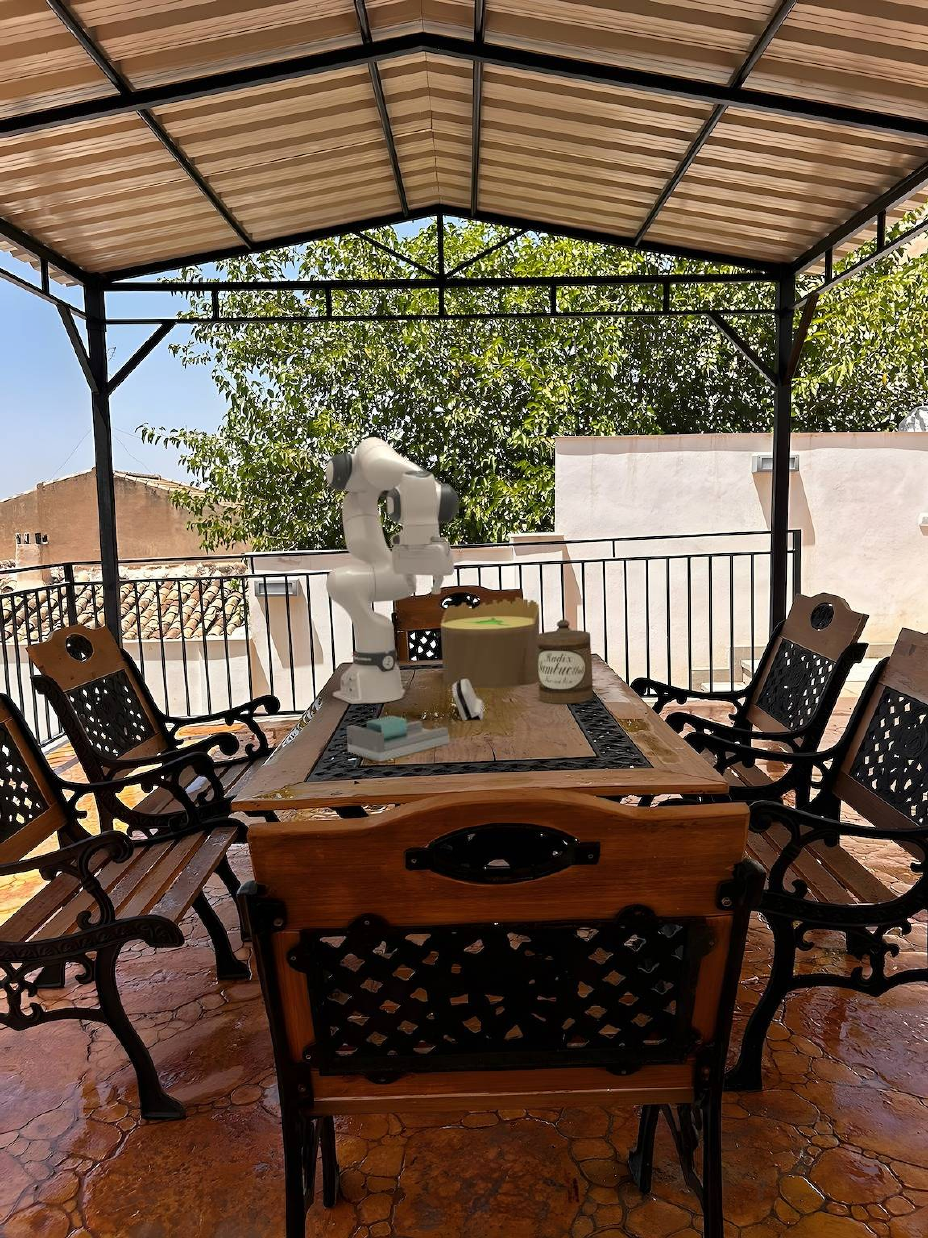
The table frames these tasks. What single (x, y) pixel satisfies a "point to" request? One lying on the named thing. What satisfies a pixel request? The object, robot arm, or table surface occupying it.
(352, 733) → the guide channel
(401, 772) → the table surface
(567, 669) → the wooden container
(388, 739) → the block
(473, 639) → the brown wide cylinder
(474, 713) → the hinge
